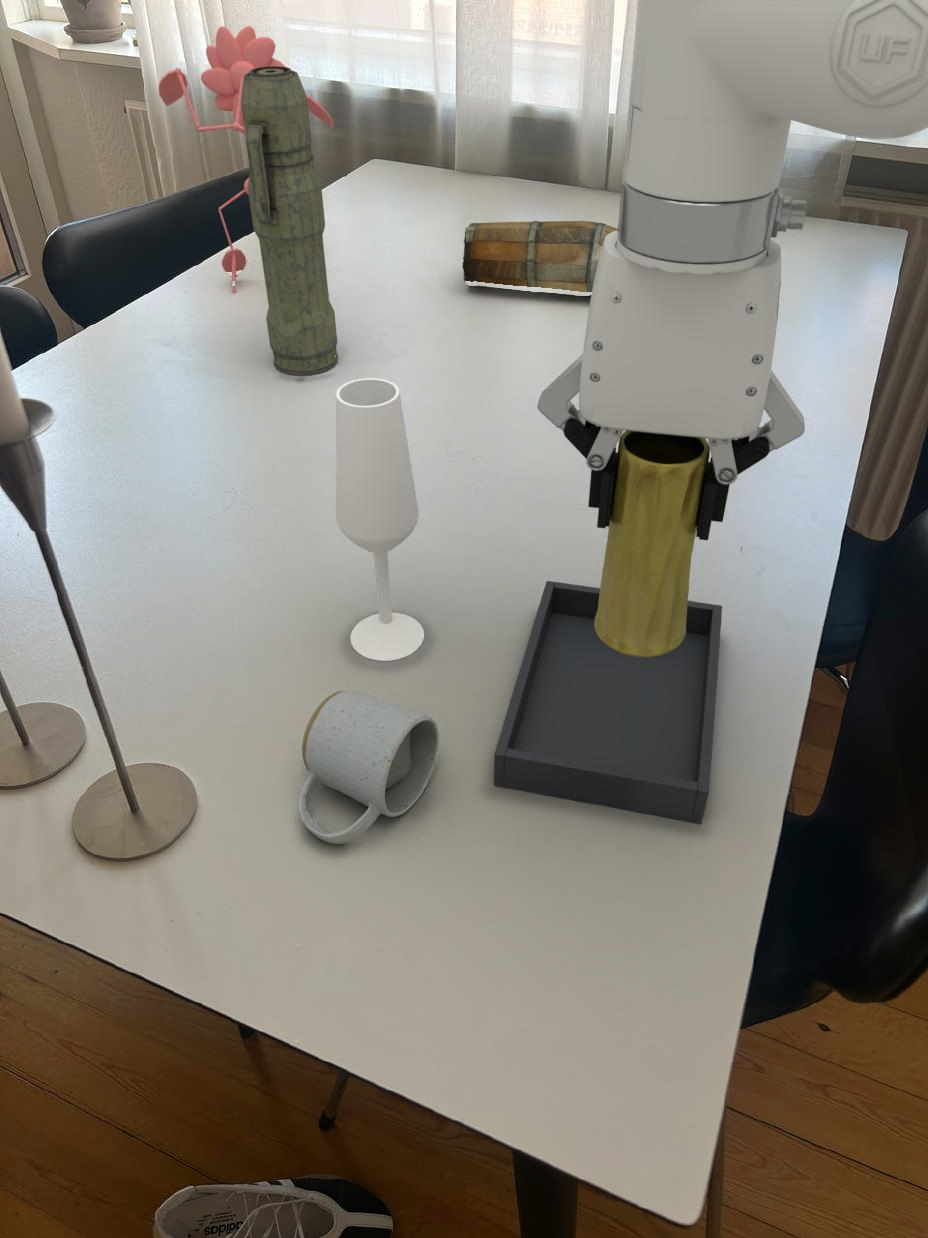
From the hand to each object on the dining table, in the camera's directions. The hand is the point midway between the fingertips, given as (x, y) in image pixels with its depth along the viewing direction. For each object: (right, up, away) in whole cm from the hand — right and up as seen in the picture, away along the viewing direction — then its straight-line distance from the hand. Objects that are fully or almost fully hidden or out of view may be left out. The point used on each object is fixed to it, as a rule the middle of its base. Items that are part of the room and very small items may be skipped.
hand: (653, 519), depth 60 cm
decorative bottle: (+10, +43, +88) cm, 99 cm away
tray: (+1, -13, +21) cm, 24 cm away
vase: (0, -7, +6) cm, 9 cm away
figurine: (-42, +48, +95) cm, 115 cm away
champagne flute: (-19, -8, +28) cm, 34 cm away
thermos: (-33, +29, +72) cm, 84 cm away
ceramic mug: (-19, -20, +14) cm, 31 cm away
